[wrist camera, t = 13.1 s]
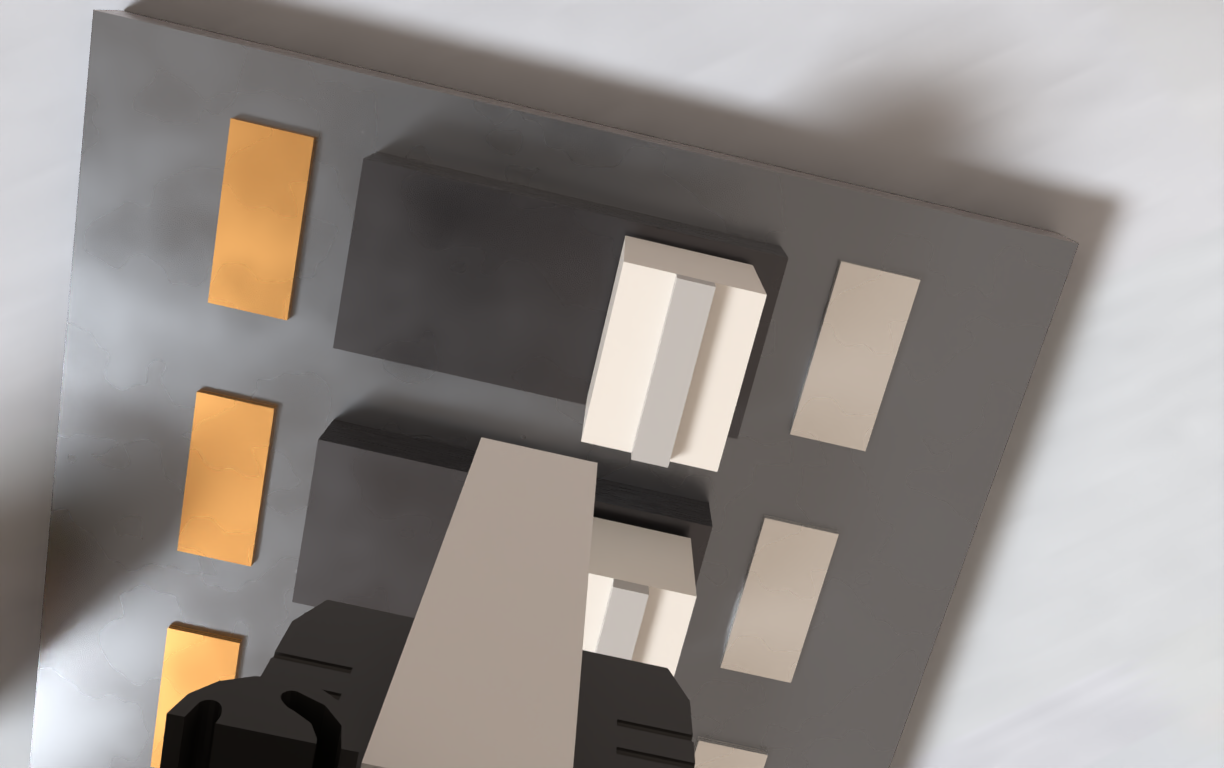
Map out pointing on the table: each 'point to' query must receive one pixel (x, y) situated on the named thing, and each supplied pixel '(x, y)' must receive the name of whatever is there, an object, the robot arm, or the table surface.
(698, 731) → the panel
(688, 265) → the block
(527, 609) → the robot arm
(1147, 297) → the table surface
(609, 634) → the breaker
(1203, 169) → the table surface
